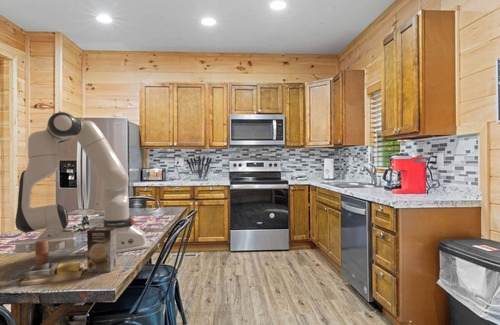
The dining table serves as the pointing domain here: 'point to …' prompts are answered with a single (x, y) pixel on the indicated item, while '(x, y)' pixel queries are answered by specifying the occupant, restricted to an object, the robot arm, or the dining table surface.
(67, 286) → the dining table surface
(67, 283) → the dining table surface
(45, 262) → the terracotta peg
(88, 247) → the coffee box
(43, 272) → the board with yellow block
